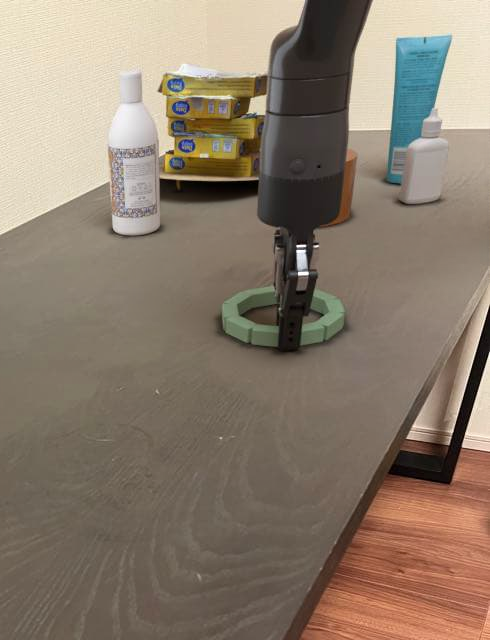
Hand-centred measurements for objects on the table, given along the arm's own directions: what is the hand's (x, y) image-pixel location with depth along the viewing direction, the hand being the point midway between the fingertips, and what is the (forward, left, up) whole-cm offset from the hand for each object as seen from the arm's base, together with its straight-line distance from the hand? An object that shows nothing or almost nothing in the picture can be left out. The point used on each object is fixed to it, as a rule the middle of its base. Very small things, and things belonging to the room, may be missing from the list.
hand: (287, 343), depth 82 cm
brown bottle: (-8, -42, 0) cm, 43 cm away
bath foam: (+17, -40, 0) cm, 44 cm away
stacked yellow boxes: (+6, -62, 0) cm, 63 cm away
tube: (-24, -57, 0) cm, 62 cm away
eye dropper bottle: (-24, -46, 0) cm, 52 cm away
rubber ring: (0, -6, 0) cm, 6 cm away
